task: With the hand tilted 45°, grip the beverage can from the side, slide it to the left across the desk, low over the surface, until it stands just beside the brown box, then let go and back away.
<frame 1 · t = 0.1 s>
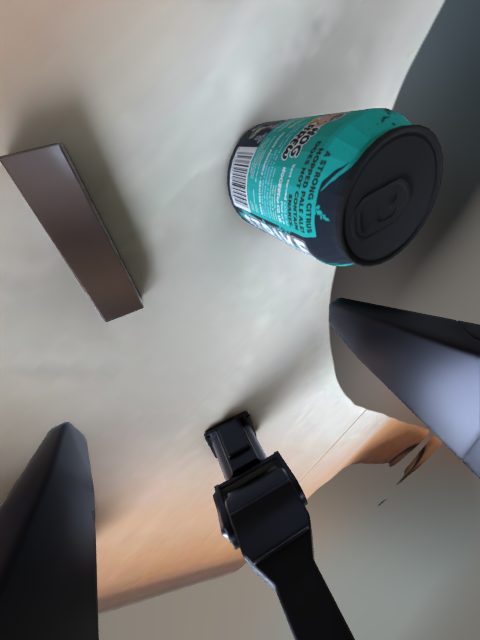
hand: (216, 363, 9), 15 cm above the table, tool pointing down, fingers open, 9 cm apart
beverage can: (263, 177, 21), on the table
brown box: (87, 242, 18), on the table
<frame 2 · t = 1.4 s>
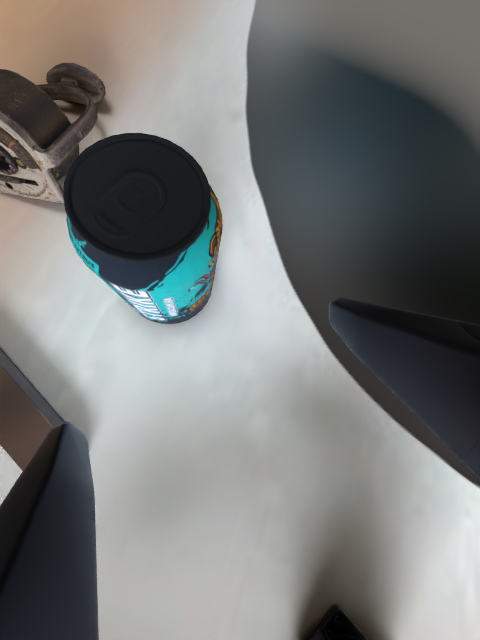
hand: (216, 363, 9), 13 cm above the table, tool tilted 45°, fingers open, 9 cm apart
beverage can: (170, 284, 23), on the table
brown box: (21, 409, 19), on the table
mechanical counter: (65, 151, 23), on the table
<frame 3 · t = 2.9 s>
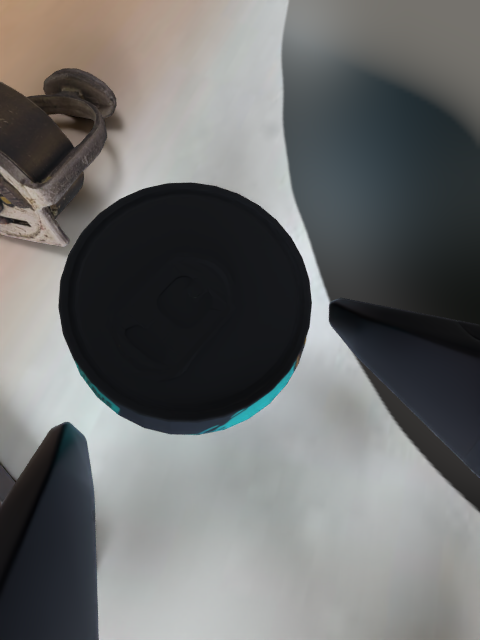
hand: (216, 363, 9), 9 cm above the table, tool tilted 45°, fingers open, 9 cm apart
beverage can: (197, 344, 18), on the table
brown box: (6, 522, 14), on the table
mechanical counter: (67, 177, 19), on the table
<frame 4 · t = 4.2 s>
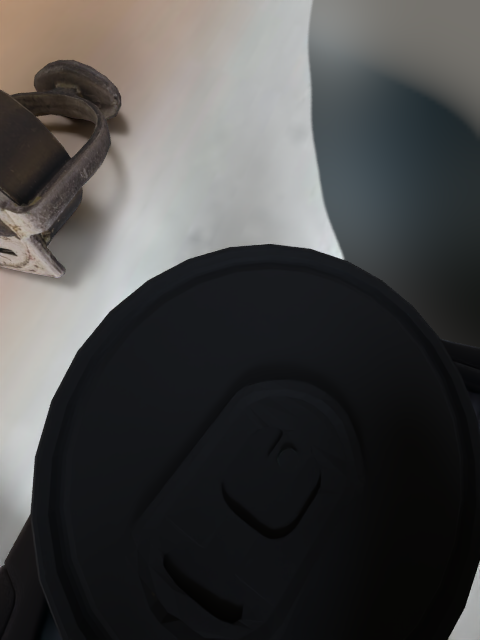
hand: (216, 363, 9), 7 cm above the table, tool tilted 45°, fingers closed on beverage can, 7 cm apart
beverage can: (218, 389, 15), on the table, touching gripper
mechanical counter: (62, 190, 16), on the table
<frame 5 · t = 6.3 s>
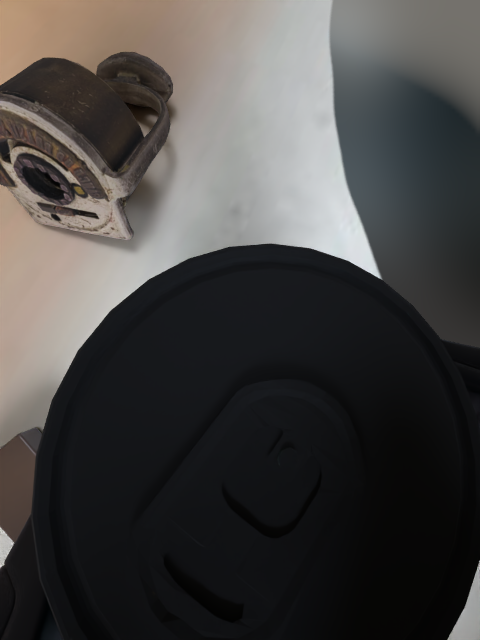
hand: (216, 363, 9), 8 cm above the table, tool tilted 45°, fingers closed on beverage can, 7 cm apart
beverage can: (218, 389, 15), point 1 cm above the table, touching gripper
brown box: (79, 525, 14), on the table
mechanical counter: (120, 167, 18), on the table
when the fingers open (7 cm above the table, at t = 8.3 s): beverage can stays where it is, on the table.
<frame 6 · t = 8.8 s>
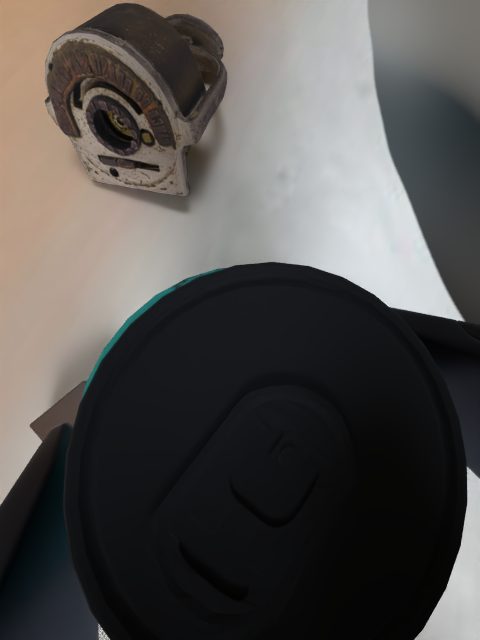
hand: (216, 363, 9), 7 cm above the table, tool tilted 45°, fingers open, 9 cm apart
beverage can: (219, 390, 15), on the table
brown box: (139, 477, 14), on the table
mechanical counter: (169, 131, 18), on the table
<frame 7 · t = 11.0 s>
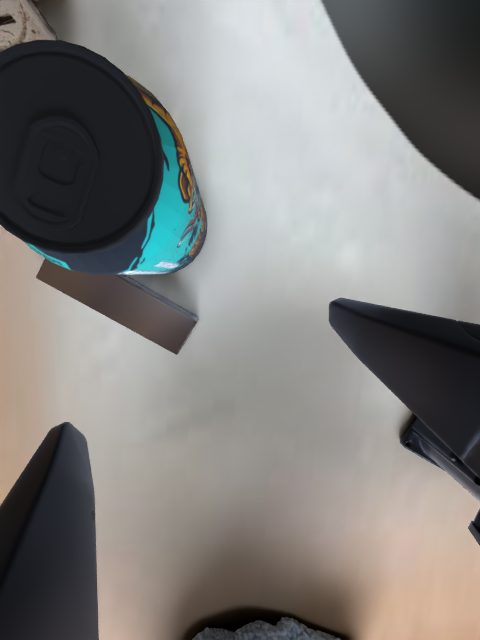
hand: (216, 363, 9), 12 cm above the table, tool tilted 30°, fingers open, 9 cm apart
beverage can: (160, 226, 20), on the table
brown box: (126, 298, 20), on the table
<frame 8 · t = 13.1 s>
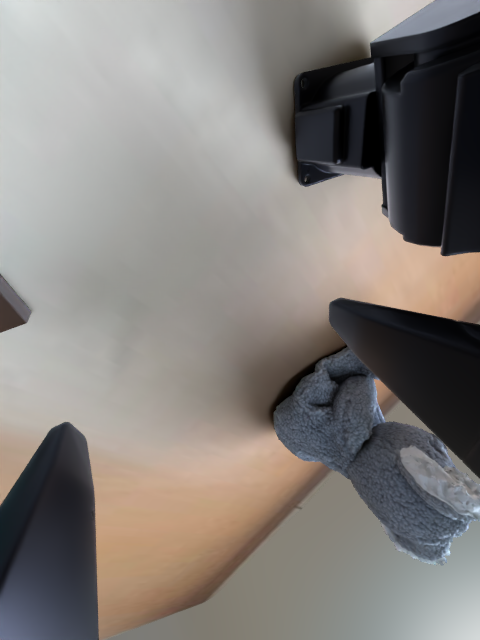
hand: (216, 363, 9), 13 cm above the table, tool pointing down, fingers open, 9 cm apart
koala plush: (320, 389, 38), on the table
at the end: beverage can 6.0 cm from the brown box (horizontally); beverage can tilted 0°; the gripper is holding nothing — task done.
